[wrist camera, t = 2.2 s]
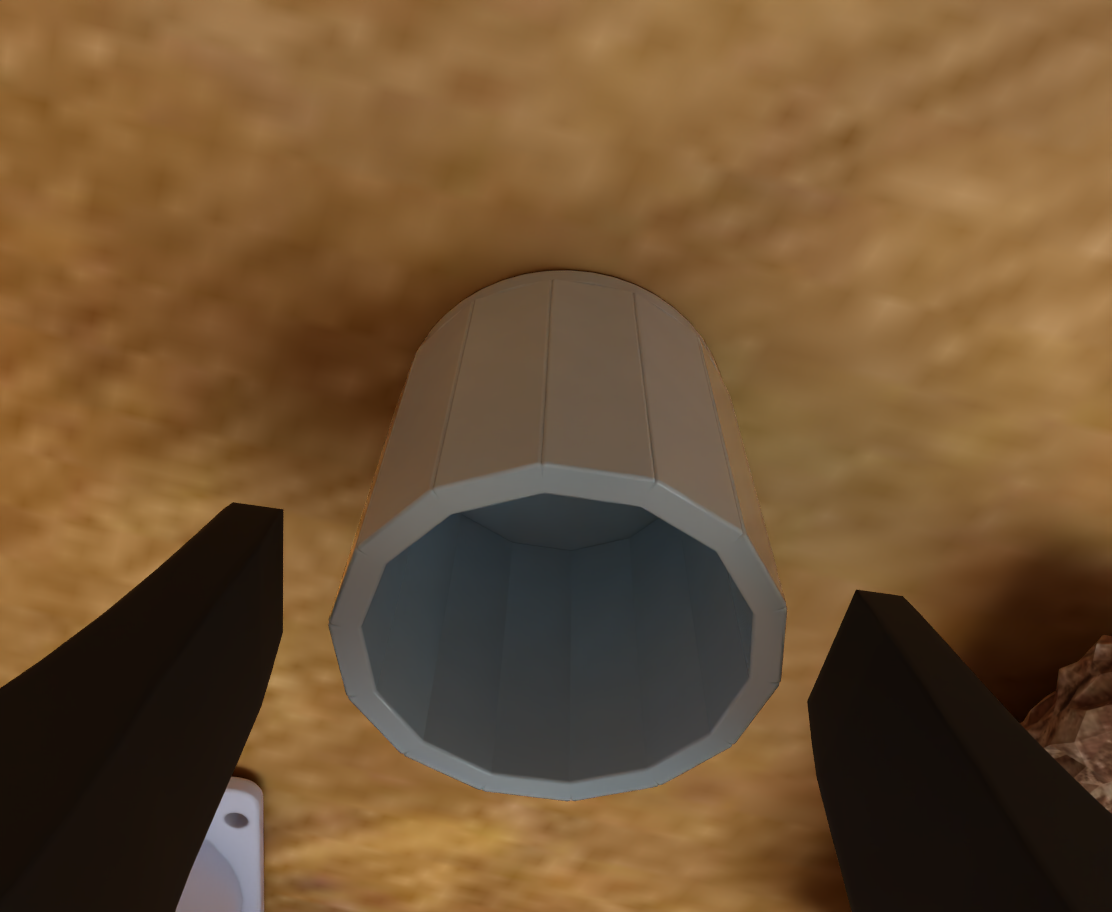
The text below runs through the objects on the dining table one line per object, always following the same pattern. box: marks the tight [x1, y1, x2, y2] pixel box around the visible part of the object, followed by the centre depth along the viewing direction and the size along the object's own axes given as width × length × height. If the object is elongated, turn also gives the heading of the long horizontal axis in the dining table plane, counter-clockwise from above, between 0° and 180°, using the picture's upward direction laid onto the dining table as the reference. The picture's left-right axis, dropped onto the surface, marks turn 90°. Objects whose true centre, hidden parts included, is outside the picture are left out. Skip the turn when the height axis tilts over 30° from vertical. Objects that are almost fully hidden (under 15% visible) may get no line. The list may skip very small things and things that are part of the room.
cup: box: [328, 270, 787, 801], centre depth 14 cm, size 5×6×6 cm
